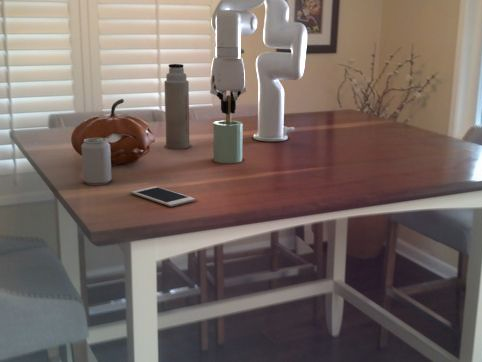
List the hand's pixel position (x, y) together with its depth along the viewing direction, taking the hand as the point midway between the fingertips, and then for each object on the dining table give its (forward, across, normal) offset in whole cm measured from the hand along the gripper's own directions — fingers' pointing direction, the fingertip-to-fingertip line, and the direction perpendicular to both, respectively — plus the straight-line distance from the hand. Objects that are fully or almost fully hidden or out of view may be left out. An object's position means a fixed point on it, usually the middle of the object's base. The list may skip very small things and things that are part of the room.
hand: (228, 112), depth 208 cm
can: (+15, +44, +8) cm, 47 cm away
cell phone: (+15, +34, +30) cm, 48 cm away
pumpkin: (+15, +32, -14) cm, 38 cm away
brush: (+12, 0, 0) cm, 12 cm away
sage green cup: (+15, 0, 0) cm, 15 cm away
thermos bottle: (+15, +6, -26) cm, 31 cm away
